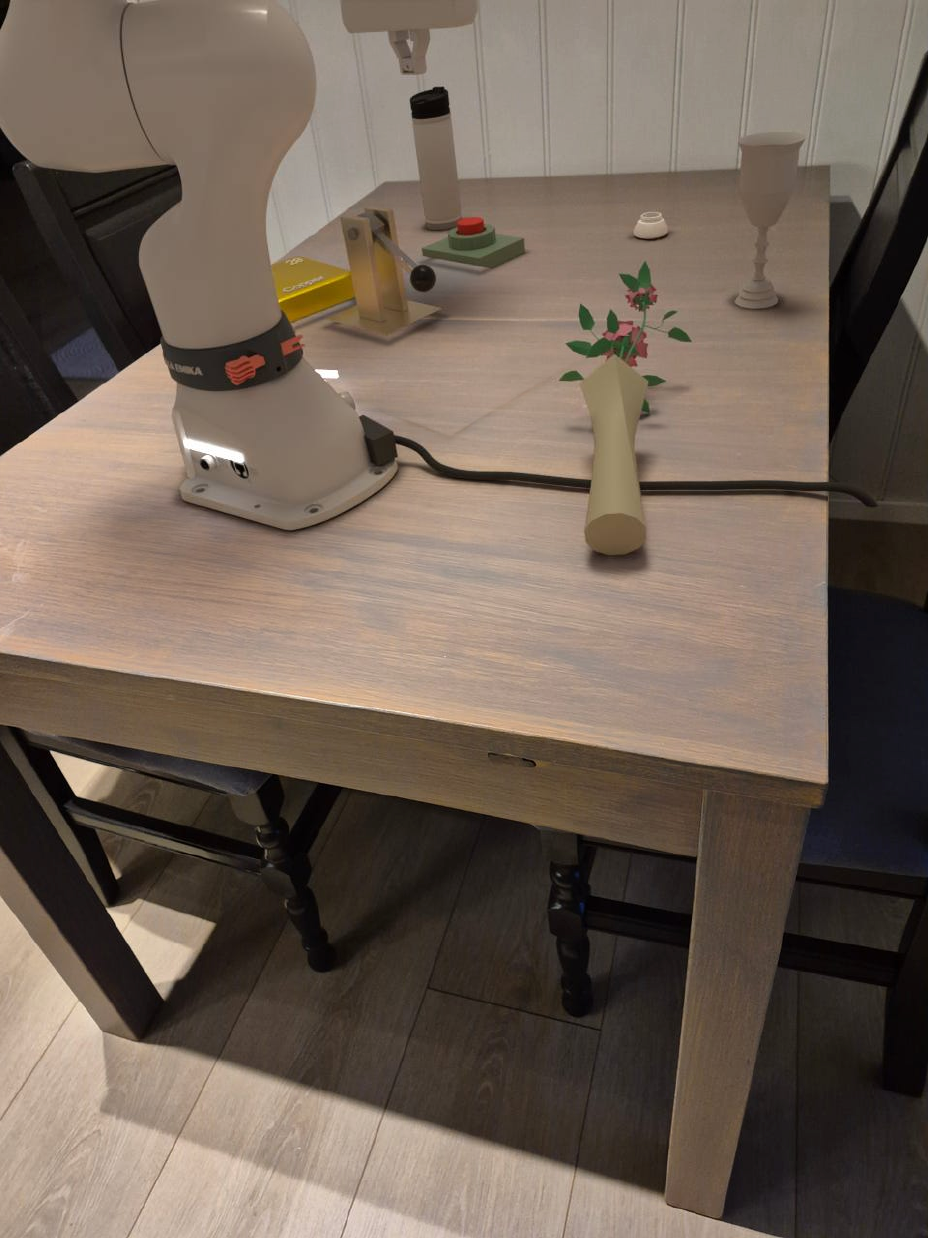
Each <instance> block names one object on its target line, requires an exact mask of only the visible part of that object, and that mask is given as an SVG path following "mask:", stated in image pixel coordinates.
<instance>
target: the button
mask: <svg viewBox="0 0 928 1238" xmlns="http://www.w3.org/2000/svg"><path fill="white" fill-rule="evenodd" d="M484 224H485V220H484V218H483V217H480V216H470V217H465V218H462V219H461V220H459V221H458V222H457V228H458V235H464V236H465V235H475V234H479V233H482V232H484V231H485V229H484Z"/></svg>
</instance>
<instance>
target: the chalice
mask: <svg viewBox="0 0 928 1238" xmlns="http://www.w3.org/2000/svg"><path fill="white" fill-rule="evenodd" d="M806 139H807V136H806V135H804V134H803V133H800V132H793V131H765V132H757V133H751V134H747V135H744V136H742V137H739V138H738V139H737V143H738V146H739V149H740V151H741V159H740V171H739V172H740V173H739V185H738V189H739V193H740V196H741V197H740V198H741V200H742V205H743V207H744V210H745V212H746V215H747V218H748V220H749V223H750V225H751V226H753V227H755V228H757V231H758V236H757V239H756V242H755V243H754V247H755V249H756V254H755V257H754V258H753V259H752V260H751V262H752V263H753V264H754V269H755V271H754V274H753V276H751V279H748V280H746V281H745V283H743V285H742V286H741V289H740V290H739V292H738V295H737V297H736V298H735V300H734V303H735V305H737V306H739V307H740V308H743V309H744V308H745V309H754V310H756V309H757V310H758V309H759V310H761V309H766V308H771V307H773V306H775V305H777V304H778V303H779V299H778V297H777V291H776V290H775V288H774V287H775V286H774V283H773V282H772V281H771V280H770V279H768V278H767V277H766V276H765V274H764V269H765V266H766V264H767V263H768V261H769V260H768V258H767V257H766V251H767V248H768V247H769V246H770V243H769V242H768V236H767V234H768V230H769V228H771V227H773V226H775V225H776V224H778V221H779V220H780V218H781V216H782V214H783V213H784V211H785V209H786V207H787V206H788V204H789V202H790V200H791V197H792V195H793V193H794V191H795V188H796V186H797V185H796V184H797V176H798V167H799V159H800V158H799V157H800V150H801V147H802V146H803V144H804V143H805V140H806Z"/></svg>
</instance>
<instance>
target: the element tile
mask: <svg viewBox="0 0 928 1238" xmlns="http://www.w3.org/2000/svg"><path fill="white" fill-rule="evenodd" d="M271 267H272V273H273V278H274V283H275V287H276V292H277V296H278V300H279V305H280V309H281V310H282V311H284V312H285V314H286V316H287V318H288V320H289V322H290V324H291V323H293V322H295V321H298V320H301V319H303V318H306V317H308V316H311V315H313V314H316V313H319V312H321V311H323V310H326V309H329V308H331V307H333V306H337V305H339V304H342V303H344V302H346V301H349V300H351V299H353V298H355V292H354V287H353V281H352V276H351V271H350V269H349V270H348V269H346V268H343V267H340V266H337V265H332V264H329V263H326V262H322V261H319V260H316V259H311V258H309V257H305V256H299V255H297V256H293V257H289V258H287V259H284V260H281V261H279V262H278V261H277V262H275V263H273V264H271Z"/></svg>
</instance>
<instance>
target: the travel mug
mask: <svg viewBox="0 0 928 1238" xmlns="http://www.w3.org/2000/svg"><path fill="white" fill-rule="evenodd" d="M409 105H410V107H409V108H410V111H411V121H412V131H413V139H414V147H415V154H416V160H417V161H416V162H417V170H418V176H419V184H420V185H419V186H420V191H421V199H422V206H423V213H424V221H425V227H426V229H428V230H429V231H437V232H438V231H447V230H451V229H454V228H456V227H457V222H458V221H459V220H461V219H463V214H462V204H461V194H460V185H459V176H458V168H457V159H456V158H457V157H456V148H455V147H456V146H455V140H454V139H455V138H454V131H453V122H452V117H451V116H452V113H451V107H450V98H449V91H448V89H447V88H445V86H433V87H432V89H427V90H424V91H423V90H422V91H420V92H417V93H415V94H413V95H412V96H411V97H410V98H409Z"/></svg>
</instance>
